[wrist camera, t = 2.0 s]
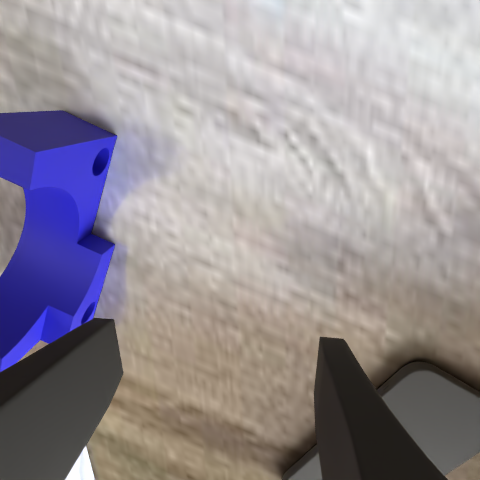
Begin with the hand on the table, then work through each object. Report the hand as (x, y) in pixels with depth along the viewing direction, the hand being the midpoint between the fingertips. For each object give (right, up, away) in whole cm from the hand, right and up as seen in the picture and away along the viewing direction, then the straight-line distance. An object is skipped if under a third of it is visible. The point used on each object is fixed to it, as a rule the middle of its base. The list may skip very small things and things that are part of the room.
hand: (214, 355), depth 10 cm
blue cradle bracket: (-9, +4, +10) cm, 14 cm away
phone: (+10, -11, +13) cm, 20 cm away
